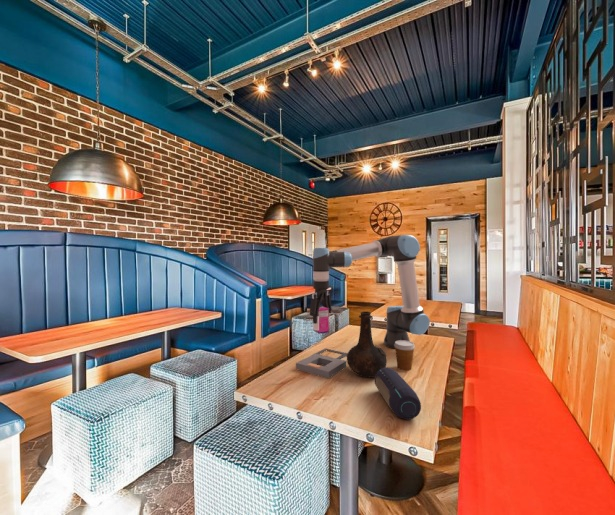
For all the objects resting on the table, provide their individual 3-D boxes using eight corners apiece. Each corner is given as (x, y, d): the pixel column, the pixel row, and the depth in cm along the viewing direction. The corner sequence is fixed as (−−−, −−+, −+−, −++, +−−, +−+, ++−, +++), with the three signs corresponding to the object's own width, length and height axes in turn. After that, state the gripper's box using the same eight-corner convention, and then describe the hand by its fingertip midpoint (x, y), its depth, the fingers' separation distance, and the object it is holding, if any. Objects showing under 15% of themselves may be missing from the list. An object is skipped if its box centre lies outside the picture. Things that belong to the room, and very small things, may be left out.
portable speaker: (372, 389, 121) (371, 364, 121) (396, 388, 121) (396, 363, 121) (394, 425, 96) (394, 394, 95) (424, 423, 96) (424, 393, 96)
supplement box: (312, 330, 143) (312, 307, 143) (323, 329, 146) (323, 306, 146) (318, 333, 138) (318, 309, 138) (329, 332, 140) (329, 308, 140)
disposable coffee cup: (396, 362, 148) (396, 338, 148) (416, 366, 143) (416, 341, 143) (391, 369, 140) (391, 344, 140) (412, 373, 135) (412, 347, 135)
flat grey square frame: (348, 354, 161) (348, 353, 161) (334, 362, 149) (334, 361, 149) (325, 349, 170) (325, 348, 170) (310, 356, 158) (310, 355, 158)
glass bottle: (382, 384, 124) (382, 317, 124) (341, 377, 132) (341, 314, 131) (389, 369, 140) (389, 310, 140) (352, 363, 148) (352, 307, 147)
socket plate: (346, 367, 143) (346, 360, 143) (328, 378, 130) (328, 371, 130) (315, 359, 154) (315, 352, 154) (296, 369, 141) (296, 362, 141)
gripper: (326, 278, 152) (326, 322, 152) (301, 281, 135) (301, 331, 136) (338, 279, 147) (338, 325, 148) (315, 282, 131) (315, 334, 131)
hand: (321, 328), depth 142 cm, fingers closed on supplement box, 8 cm apart
